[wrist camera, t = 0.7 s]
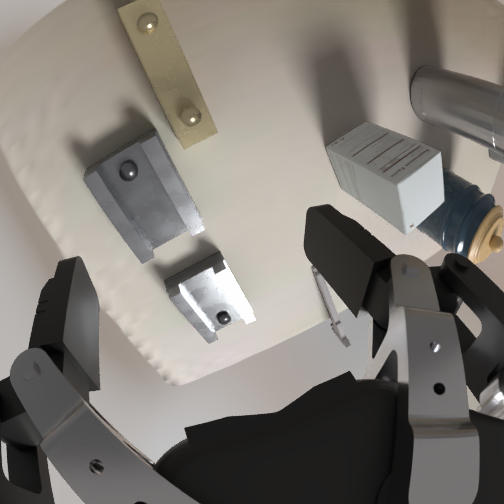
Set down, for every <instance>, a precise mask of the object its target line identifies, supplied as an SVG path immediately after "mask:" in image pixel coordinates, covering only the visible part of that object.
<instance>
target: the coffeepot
mask: <svg viewBox="0 0 504 504" xmlns="http://www.w3.org/2000/svg"><path fill="white" fill-rule="evenodd" d="M489 156H490V158H492V159H493V160H495V161H498V162H501V163H504V156H502V155H500V154H498V153H496V152H494V151H493V150H491V149H489Z"/></svg>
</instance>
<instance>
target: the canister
mask: <svg viewBox="0 0 504 504" xmlns="http://www.w3.org/2000/svg"><path fill="white" fill-rule="evenodd" d="M442 170H443V184H444V202H443V203H442V204H441V205H440V206H439V207H438V208H437V209H436V210H435V211H433V212H432V213H431V214H430V215H429V216H428V217H427V218H426V219H425V220H423V221H422V222H421V223H420V224H419V225H418V226H417V227H416V228H417V229H418V230H420V231H421V232H422V233H425V234H426V235H428V236H429V237H430V238H432V239H433V240H434V241H435V242H437V243H438V244H439V245H440V246H442V248H443V249H444V250H445V251H451V252H452V253H456V254H460V255H462V256H464V257H466V258H468V259H469V260H470V261H471V262H473V263H474V264H477V263H478V262H482V261H484V260H485V259H486V258H487V257H488V256H489V255H490V253H491V252H492V251H494V252H499V251H501V249H502V247H503V240H502V239H501V237H500V235H501V233H502V230H503V224H504V219H503V209H502V207H501V206H496V205H495V199H494V197H493V196H492V195H491V194H484V193H483V192H481V190H480V188H479V187H478V186H477V185H473V184H472V183H470V182H468V181H466V180H465V179H463V178H461V177H459V176H458V175H456V174H454V172H452V171H450V170H449V169H446V168H442Z"/></svg>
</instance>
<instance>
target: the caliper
mask: <svg viewBox="0 0 504 504" xmlns="http://www.w3.org/2000/svg"><path fill="white" fill-rule="evenodd" d="M312 270H313V272H314V276H315V279H316V281H317V284H318V286H319V289H320V291H321V293H322V296H323V298H324V301H325V303H326V306H327V308H328V311H329V313H330V316H331V320H332V323H331V326H332V330H333V331H334V333H335V334H336V336H337V337H338V338H339V339H340V341H341V342H342V343H343V345H345V346H346V347H348V346H350V345H351V344H350V343H349V340H348V339H347V338H346V334H345V332H344V329H343V326H342V323H341V322H340V319H339V317H338V314H337V311H336V309H335V306H334V303H333V300H332V298H331V295H330V293H329V290H328V287H327V285H326V282H325V280H324V278H323V276H322V275H321V274H320V273H319V272H318V270H317V269H316V268H315V267H314V266H313V267H312Z"/></svg>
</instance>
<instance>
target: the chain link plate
mask: <svg viewBox="0 0 504 504" xmlns="http://www.w3.org/2000/svg"><path fill="white" fill-rule="evenodd" d="M117 10H118V13H119V17H120V20H121V22H122V24H123V27H124V29H125V31H126V33H127V35H128V37H129V39H130V42H131V44H132V46H133V48H134V50H135V52H136V54H137V56H138V59H139V61H140V63H141V65H142V67H143V69H144V71H145V73H146V75H147V77H148V79H149V82H150V84H151V86H152V88H153V90H154V92H155V94H156V96H157V98H158V100H159V102H160V104H161V106H162V108H163V111H164V113H165V115H166V117H167V119H168V121H169V123H170V125H171V127H172V129H173V131H174V133H175V135H176V137H177V139H178V140H179V142H180V144H181V145H182V147H183V148H184V149H186V148H188V147H190V146H192V145H194V144H196V143H198V142H200V141H202V140H204V139H206V138H208V137H210V136H212V135H214V134H216V133H218V131H217V129H216V127H215V124H214V122H213V120H212V117H211V115H210V113H209V110H208V108H207V106H206V104H205V101H204V99H203V97H202V94H201V92H200V90H199V88H198V85H197V83H196V81H195V78H194V76H193V74H192V72H191V69H190V67H189V65H188V63H187V60H186V58H185V56H184V54H183V51H182V49H181V47H180V45H179V42H178V40H177V38H176V36H175V33H174V31H173V29H172V27H171V25H170V22H169V20H168V18H167V16H166V14H165V11H164V9H163V7H162V5H161V3H160V1H159V0H136V1H134V2H132V3H130V4H127V5H125V6H123V7H121V8H119V9H117Z"/></svg>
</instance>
